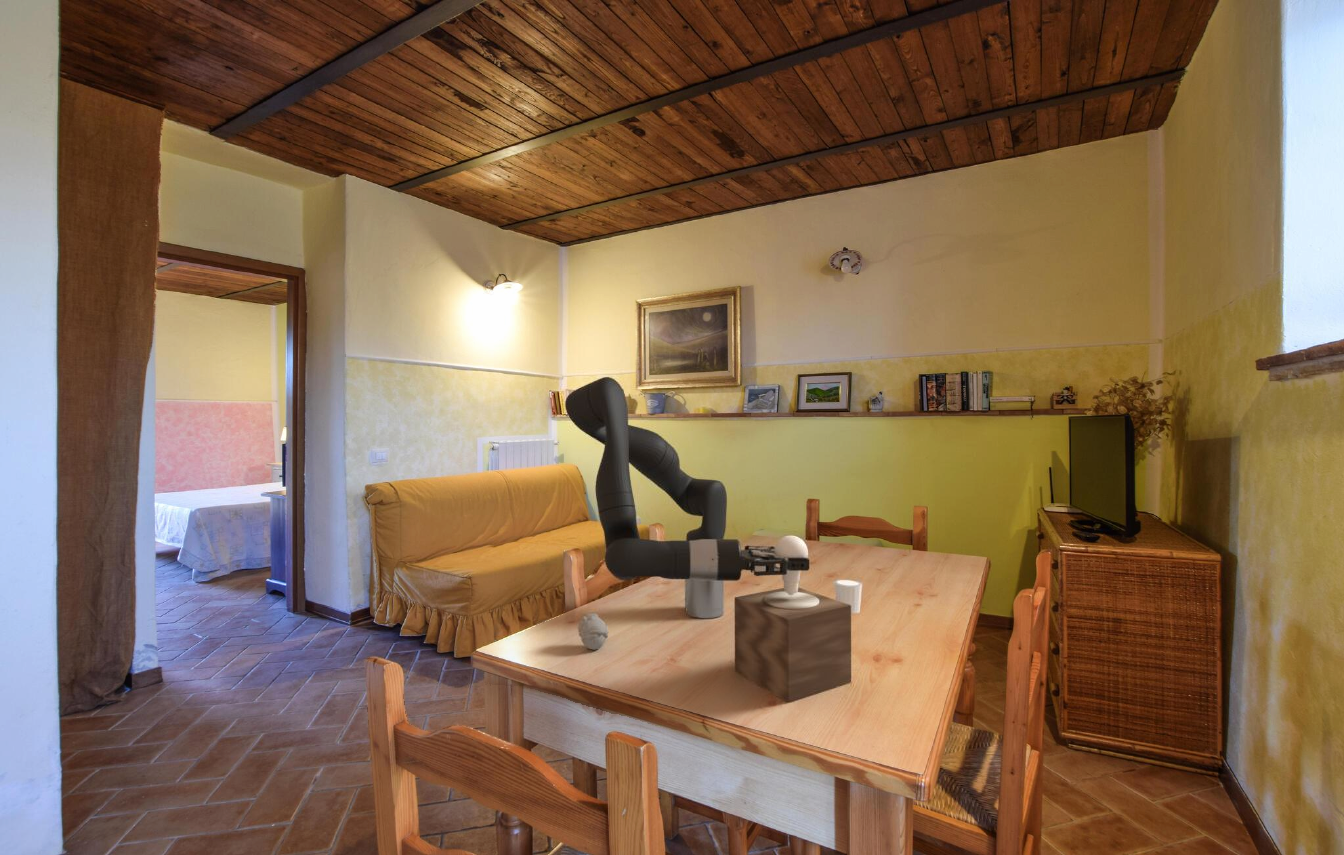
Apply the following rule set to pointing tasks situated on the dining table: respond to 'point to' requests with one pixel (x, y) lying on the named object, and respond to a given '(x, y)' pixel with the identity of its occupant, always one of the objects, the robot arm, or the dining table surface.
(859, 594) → the shot glass
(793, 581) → the lightbulb
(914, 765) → the dining table surface
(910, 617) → the dining table surface
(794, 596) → the lamp housing
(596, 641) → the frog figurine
